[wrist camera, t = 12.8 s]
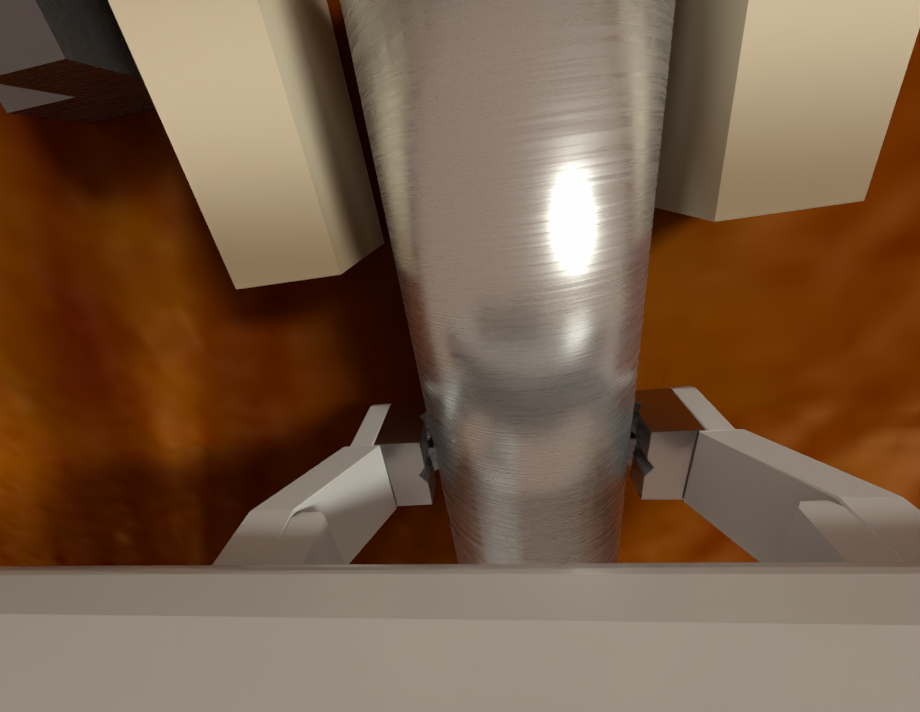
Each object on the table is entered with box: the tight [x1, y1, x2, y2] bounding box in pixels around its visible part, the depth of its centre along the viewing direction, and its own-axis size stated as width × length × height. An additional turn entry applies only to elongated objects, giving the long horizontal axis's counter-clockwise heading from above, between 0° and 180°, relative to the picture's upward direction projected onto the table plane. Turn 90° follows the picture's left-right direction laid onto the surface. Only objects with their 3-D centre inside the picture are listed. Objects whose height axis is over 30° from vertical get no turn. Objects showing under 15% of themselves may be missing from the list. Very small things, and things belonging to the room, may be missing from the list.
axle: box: [340, 0, 676, 564], centre depth 7 cm, size 13×4×4 cm, turn 7°
